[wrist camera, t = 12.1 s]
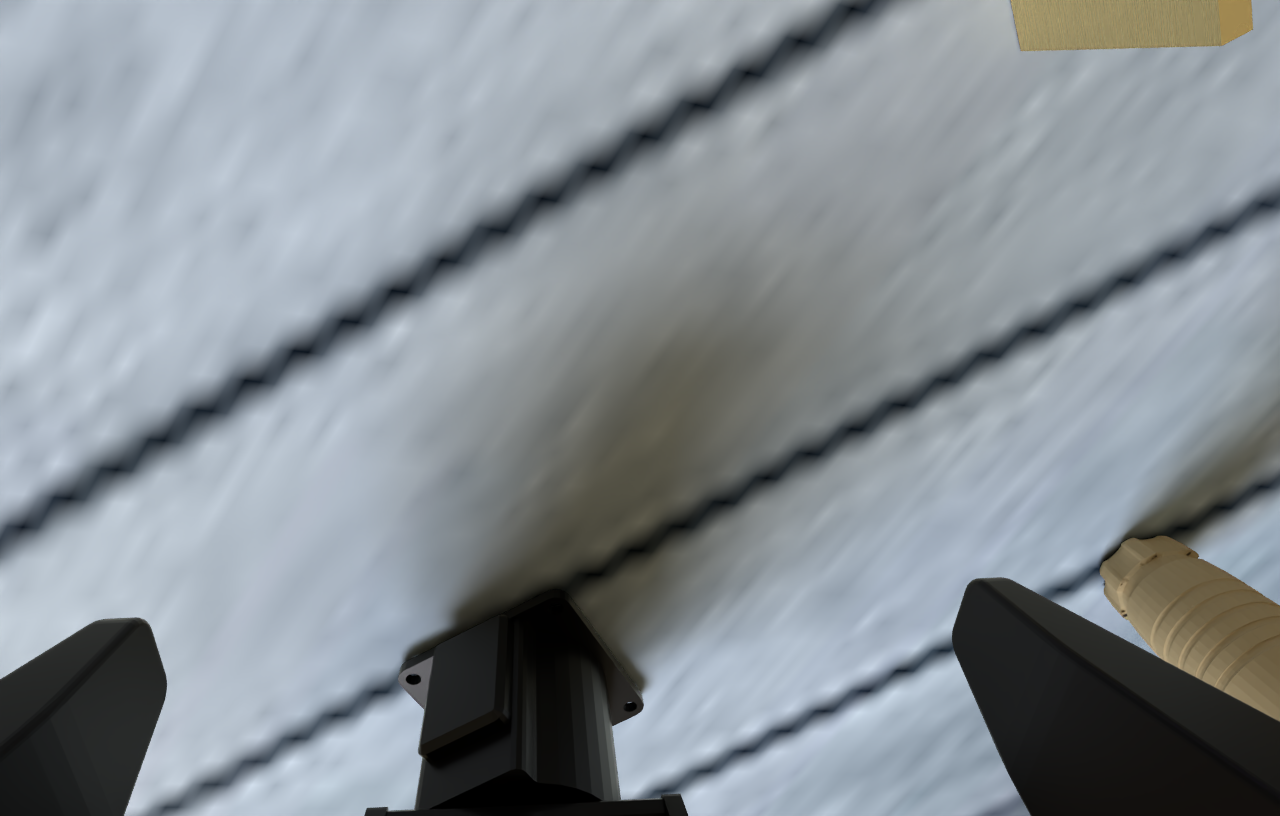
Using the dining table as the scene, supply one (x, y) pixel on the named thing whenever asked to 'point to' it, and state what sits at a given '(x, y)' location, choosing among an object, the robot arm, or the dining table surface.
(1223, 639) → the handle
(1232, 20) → the hinge
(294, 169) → the dining table surface
